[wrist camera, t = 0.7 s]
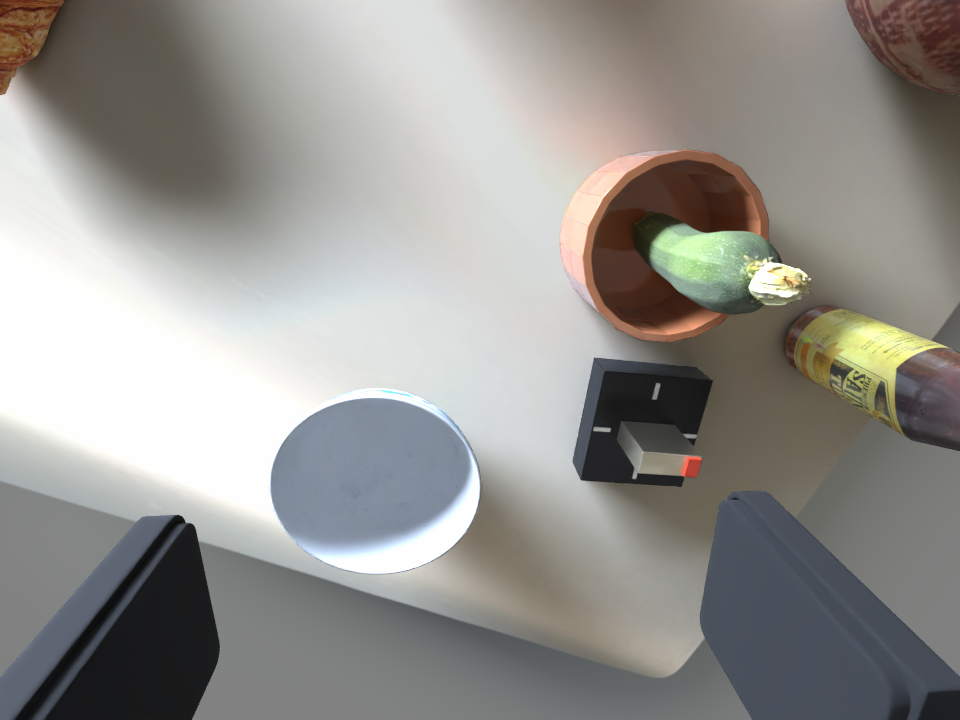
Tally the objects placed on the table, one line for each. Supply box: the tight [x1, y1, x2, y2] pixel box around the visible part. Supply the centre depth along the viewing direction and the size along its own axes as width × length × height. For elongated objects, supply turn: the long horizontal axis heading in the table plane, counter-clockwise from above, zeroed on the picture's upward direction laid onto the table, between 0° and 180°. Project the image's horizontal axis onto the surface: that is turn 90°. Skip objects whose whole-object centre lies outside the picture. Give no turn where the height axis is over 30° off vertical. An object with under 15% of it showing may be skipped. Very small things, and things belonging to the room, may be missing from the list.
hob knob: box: [617, 421, 703, 477], centre depth 41 cm, size 5×2×5 cm, turn 83°
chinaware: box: [269, 388, 481, 574], centre depth 41 cm, size 15×15×8 cm
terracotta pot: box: [560, 150, 769, 342], centre depth 37 cm, size 12×12×7 cm
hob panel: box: [573, 358, 713, 487], centre depth 45 cm, size 10×9×3 cm
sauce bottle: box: [785, 306, 960, 451], centre depth 35 cm, size 6×6×20 cm
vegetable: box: [631, 211, 811, 315], centre depth 31 cm, size 4×4×20 cm
